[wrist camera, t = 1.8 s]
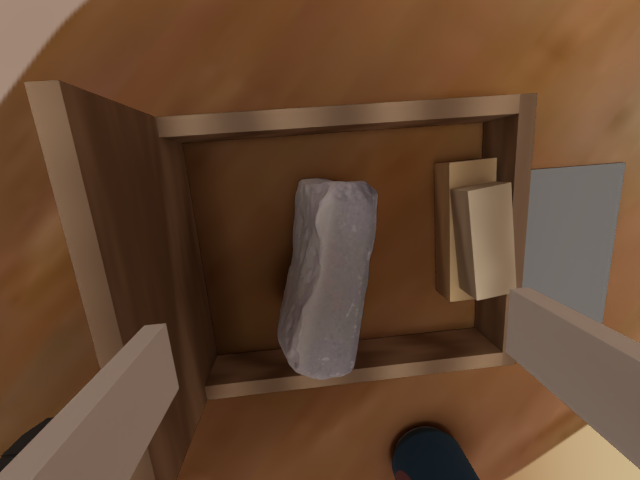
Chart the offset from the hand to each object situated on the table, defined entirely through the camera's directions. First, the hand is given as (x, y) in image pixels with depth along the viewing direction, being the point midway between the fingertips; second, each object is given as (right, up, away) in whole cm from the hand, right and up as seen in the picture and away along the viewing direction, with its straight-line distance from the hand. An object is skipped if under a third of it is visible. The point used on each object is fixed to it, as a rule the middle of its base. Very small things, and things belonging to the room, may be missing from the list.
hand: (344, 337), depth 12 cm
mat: (+20, +2, +16) cm, 26 cm away
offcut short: (+11, +4, +12) cm, 17 cm away
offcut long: (+11, +5, +15) cm, 19 cm away
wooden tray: (+1, +3, +14) cm, 15 cm away
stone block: (-1, +3, +14) cm, 15 cm away
